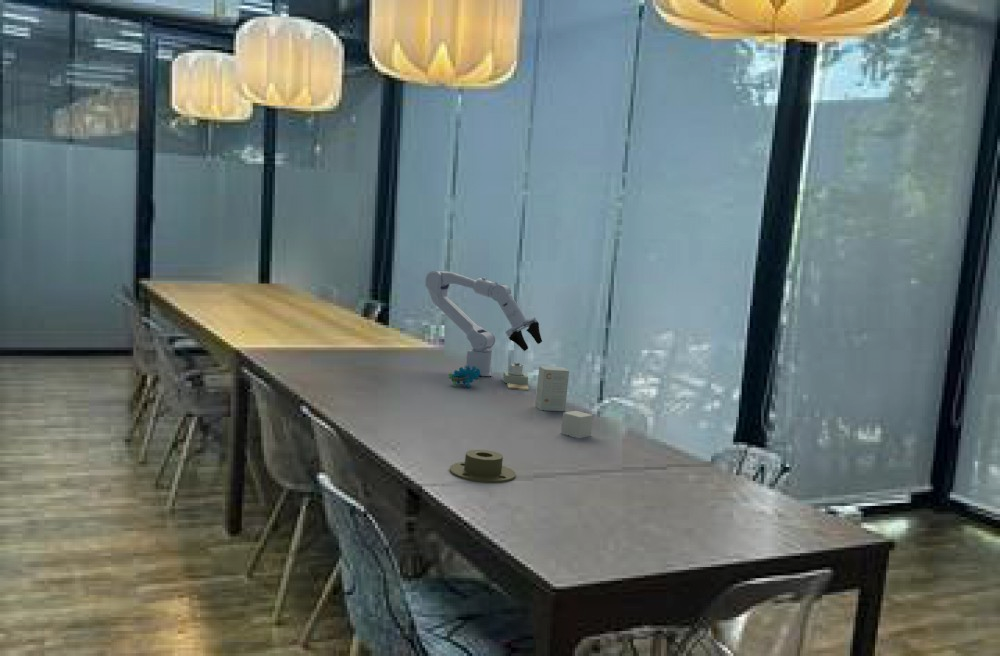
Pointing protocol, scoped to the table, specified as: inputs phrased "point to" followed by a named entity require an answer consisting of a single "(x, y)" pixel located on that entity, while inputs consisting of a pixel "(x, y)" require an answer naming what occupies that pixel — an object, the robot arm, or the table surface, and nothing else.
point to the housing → (515, 378)
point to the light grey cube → (577, 424)
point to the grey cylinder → (516, 369)
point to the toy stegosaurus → (465, 375)
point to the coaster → (517, 386)
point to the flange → (483, 467)
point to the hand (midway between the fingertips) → (533, 346)
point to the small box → (552, 388)
